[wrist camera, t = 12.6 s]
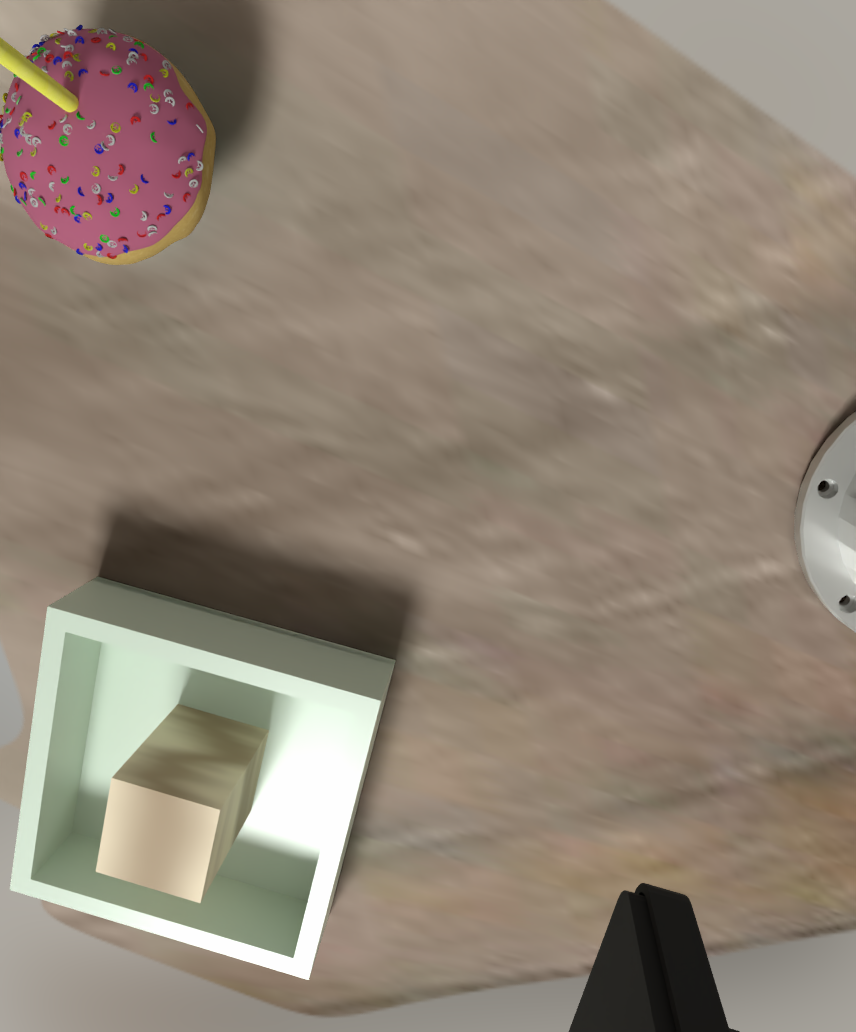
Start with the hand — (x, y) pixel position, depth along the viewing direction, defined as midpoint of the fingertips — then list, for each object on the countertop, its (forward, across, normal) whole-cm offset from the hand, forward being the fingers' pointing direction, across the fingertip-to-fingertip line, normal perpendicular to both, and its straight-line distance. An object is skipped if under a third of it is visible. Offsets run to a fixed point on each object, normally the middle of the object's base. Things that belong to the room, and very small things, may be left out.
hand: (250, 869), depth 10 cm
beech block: (+28, +8, +18) cm, 34 cm away
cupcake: (+28, +16, -10) cm, 34 cm away
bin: (+28, +8, +18) cm, 34 cm away
